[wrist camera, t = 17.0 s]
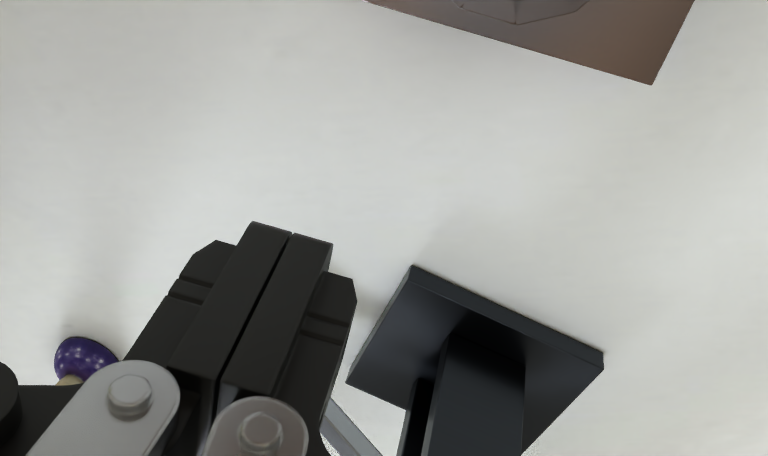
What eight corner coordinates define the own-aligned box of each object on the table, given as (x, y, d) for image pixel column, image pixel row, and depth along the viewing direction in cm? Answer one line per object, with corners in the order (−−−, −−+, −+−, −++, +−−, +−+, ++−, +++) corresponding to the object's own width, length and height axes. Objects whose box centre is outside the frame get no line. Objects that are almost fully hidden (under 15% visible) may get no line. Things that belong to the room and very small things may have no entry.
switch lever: (274, 345, 37) (225, 372, 34) (292, 306, 35) (242, 331, 32) (469, 566, 32) (427, 614, 30) (503, 534, 30) (461, 583, 28)
